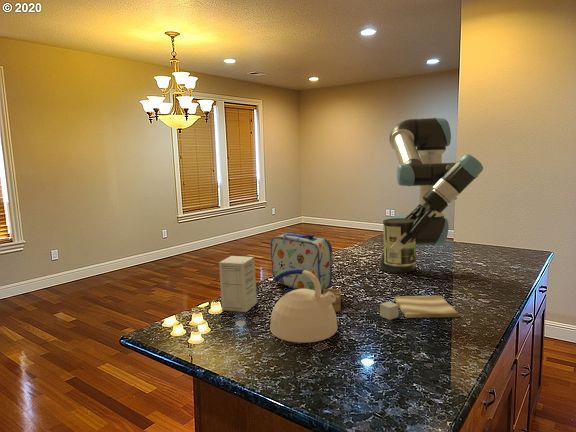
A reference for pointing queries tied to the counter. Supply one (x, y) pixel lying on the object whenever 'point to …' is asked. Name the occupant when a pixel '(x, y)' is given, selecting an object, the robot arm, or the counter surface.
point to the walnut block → (336, 302)
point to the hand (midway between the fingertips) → (390, 246)
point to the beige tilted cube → (389, 310)
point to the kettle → (304, 313)
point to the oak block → (332, 291)
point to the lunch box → (302, 259)
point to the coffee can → (391, 235)
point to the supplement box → (238, 283)
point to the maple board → (424, 306)
